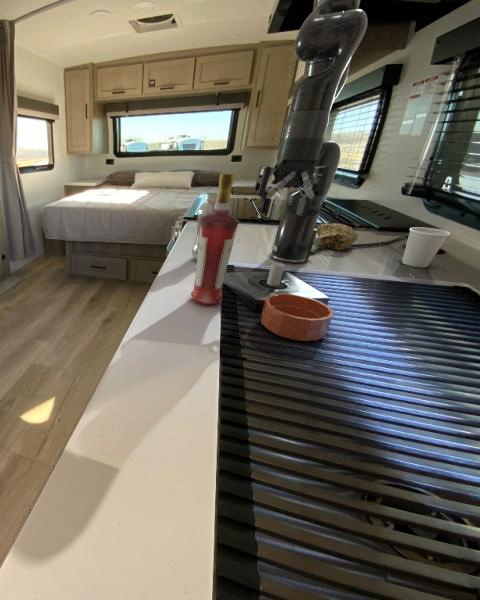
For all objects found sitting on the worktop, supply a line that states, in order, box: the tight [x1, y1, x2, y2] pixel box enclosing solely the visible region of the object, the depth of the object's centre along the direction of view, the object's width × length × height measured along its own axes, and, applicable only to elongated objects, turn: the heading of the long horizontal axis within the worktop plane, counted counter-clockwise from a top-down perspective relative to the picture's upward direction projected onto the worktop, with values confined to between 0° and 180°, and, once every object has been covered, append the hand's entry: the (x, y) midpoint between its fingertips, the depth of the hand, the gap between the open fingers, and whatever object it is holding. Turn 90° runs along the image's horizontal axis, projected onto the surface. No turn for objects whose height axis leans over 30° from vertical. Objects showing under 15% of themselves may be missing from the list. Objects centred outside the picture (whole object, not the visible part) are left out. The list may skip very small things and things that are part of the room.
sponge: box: [316, 222, 359, 251], centre depth 116 cm, size 13×8×20 cm
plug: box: [261, 261, 285, 289], centre depth 78 cm, size 5×5×8 cm
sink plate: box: [223, 270, 330, 313], centre depth 79 cm, size 16×16×3 cm
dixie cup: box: [401, 226, 451, 268], centre depth 96 cm, size 8×8×10 cm
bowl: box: [259, 294, 335, 342], centre depth 65 cm, size 11×11×5 cm
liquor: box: [190, 172, 239, 306], centre depth 71 cm, size 7×7×28 cm
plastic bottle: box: [191, 192, 218, 261], centre depth 98 cm, size 6×7×20 cm
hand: (281, 215), depth 75 cm, fingers open, 8 cm apart
